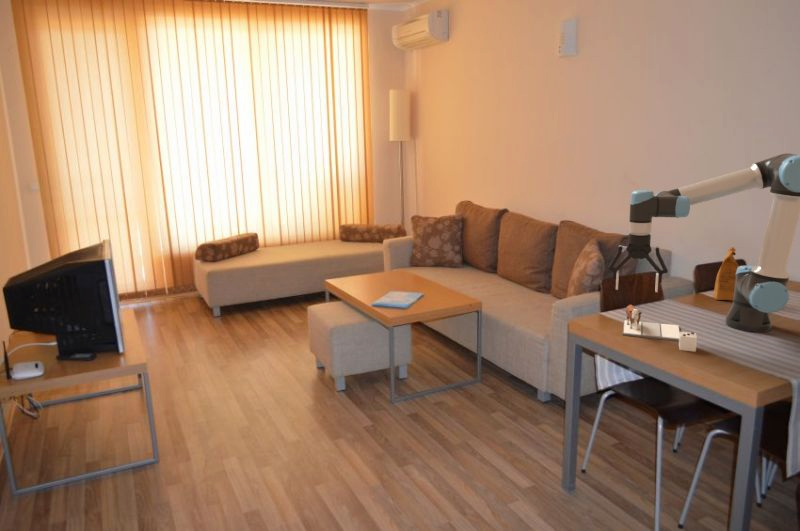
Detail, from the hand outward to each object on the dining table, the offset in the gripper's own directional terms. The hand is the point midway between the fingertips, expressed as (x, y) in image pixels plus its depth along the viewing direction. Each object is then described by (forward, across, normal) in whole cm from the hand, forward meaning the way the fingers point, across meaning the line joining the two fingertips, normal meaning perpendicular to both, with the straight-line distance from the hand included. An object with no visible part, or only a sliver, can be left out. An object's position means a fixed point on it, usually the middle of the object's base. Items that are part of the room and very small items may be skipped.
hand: (636, 290), depth 224 cm
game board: (+15, -6, 0) cm, 17 cm away
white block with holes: (+16, -17, +15) cm, 27 cm away
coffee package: (+16, -37, -56) cm, 70 cm away
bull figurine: (+15, 0, 0) cm, 15 cm away
